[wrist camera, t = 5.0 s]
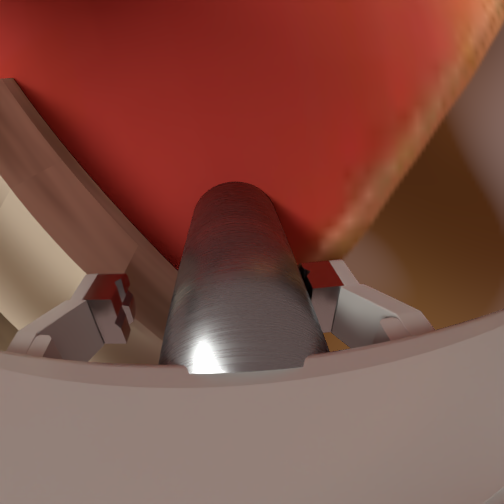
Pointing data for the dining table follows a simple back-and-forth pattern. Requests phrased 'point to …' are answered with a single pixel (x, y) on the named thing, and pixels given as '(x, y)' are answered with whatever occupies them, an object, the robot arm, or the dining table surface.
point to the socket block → (67, 236)
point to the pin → (239, 291)
